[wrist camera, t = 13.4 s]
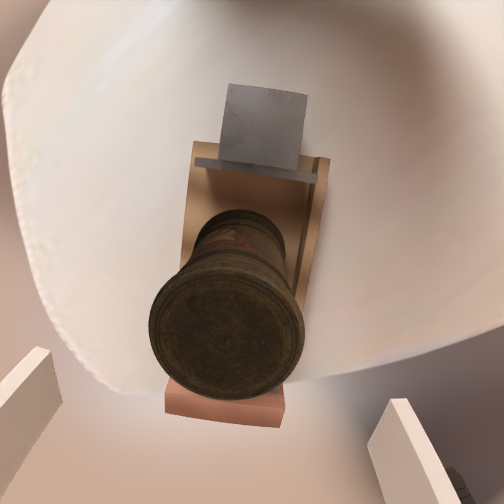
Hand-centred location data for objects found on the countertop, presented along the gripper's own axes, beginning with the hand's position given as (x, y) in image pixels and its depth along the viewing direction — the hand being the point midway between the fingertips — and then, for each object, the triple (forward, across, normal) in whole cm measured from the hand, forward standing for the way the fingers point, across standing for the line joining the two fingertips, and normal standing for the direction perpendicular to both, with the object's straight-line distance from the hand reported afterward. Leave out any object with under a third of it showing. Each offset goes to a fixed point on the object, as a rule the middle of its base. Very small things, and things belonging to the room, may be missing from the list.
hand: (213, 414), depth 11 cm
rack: (+25, 0, -2) cm, 25 cm away
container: (+24, 0, 0) cm, 24 cm away
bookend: (+24, 0, +11) cm, 26 cm away
